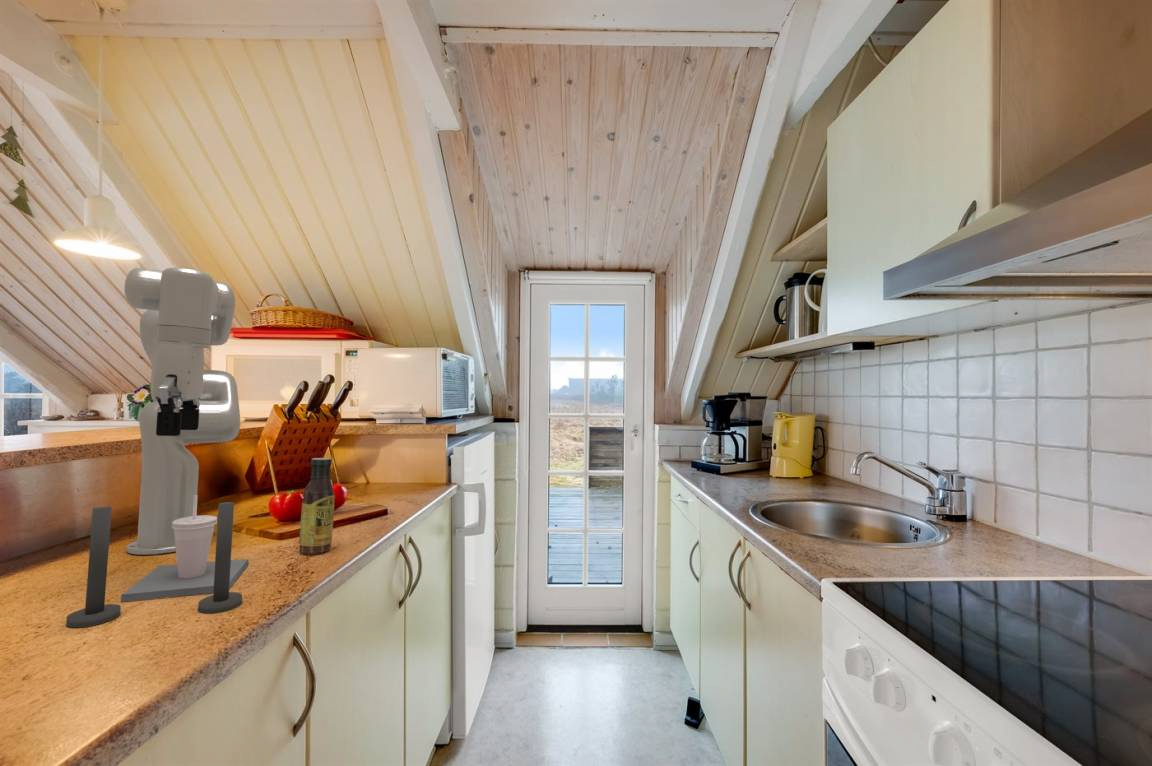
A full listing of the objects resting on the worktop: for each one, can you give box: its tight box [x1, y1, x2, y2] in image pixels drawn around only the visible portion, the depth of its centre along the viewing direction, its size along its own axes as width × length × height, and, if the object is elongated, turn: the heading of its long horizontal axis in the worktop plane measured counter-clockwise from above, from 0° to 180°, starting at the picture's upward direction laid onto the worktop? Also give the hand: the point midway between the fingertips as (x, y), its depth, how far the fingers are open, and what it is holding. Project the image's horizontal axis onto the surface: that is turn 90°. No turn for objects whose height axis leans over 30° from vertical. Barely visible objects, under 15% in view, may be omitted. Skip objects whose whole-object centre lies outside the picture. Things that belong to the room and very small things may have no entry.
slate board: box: [120, 558, 250, 603], centre depth 86 cm, size 14×14×1 cm
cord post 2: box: [197, 501, 243, 614], centre depth 77 cm, size 6×6×16 cm
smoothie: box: [172, 494, 218, 578], centre depth 86 cm, size 6×6×14 cm
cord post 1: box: [65, 506, 122, 629], centre depth 71 cm, size 6×6×16 cm
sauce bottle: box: [298, 457, 336, 555], centre depth 105 cm, size 6×6×20 cm
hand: (178, 432), depth 87 cm, fingers open, 9 cm apart
